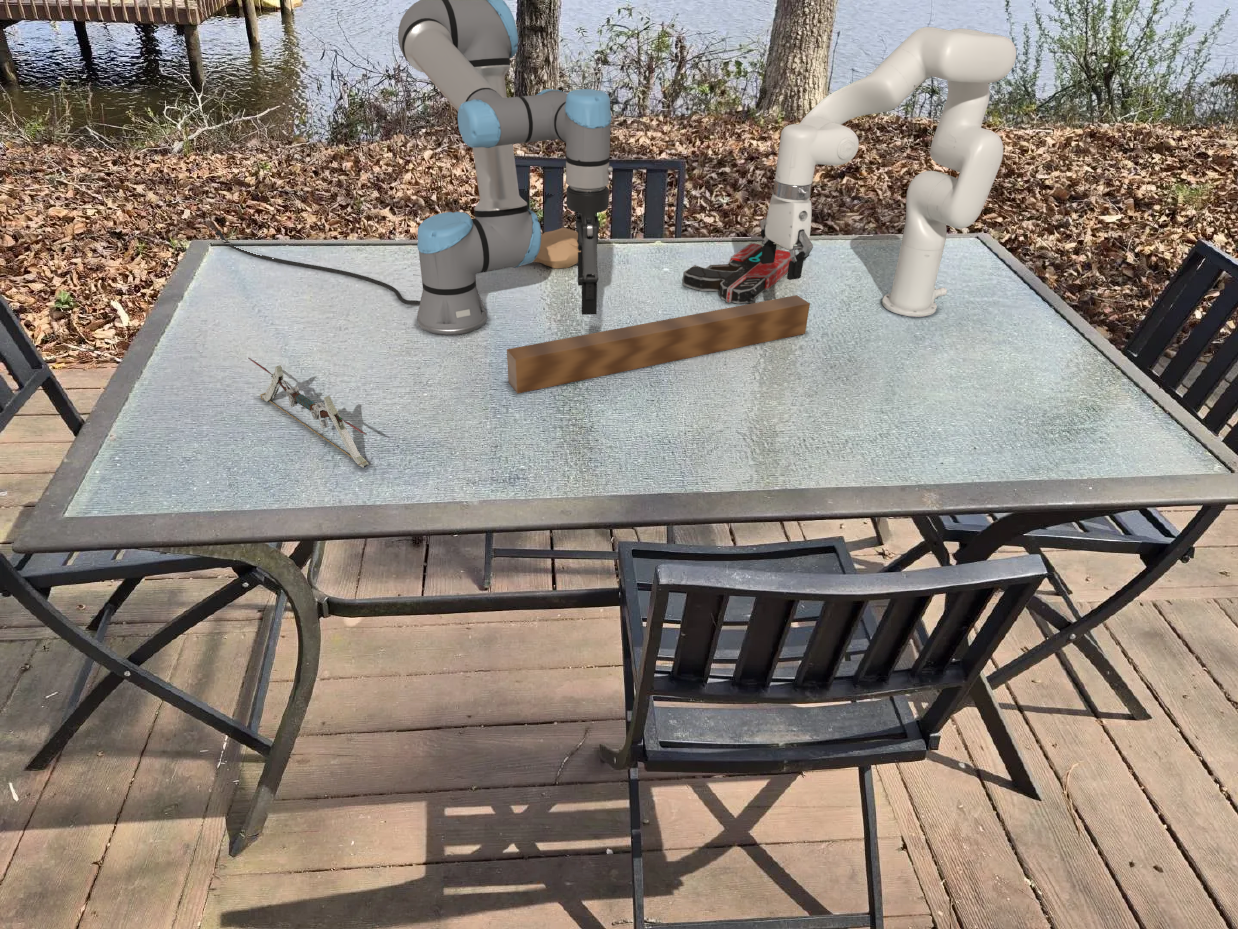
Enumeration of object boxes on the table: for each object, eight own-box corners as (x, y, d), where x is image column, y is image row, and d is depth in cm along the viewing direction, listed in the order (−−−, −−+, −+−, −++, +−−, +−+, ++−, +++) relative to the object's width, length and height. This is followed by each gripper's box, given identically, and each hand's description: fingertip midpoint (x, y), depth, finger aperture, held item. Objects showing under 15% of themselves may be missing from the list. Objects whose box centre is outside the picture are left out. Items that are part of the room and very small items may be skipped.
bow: (378, 470, 147) (371, 419, 141) (369, 475, 146) (361, 423, 140) (261, 391, 168) (250, 343, 163) (252, 394, 167) (241, 347, 162)
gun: (678, 273, 212) (751, 292, 205) (732, 235, 234) (800, 251, 226) (676, 290, 215) (749, 310, 207) (730, 251, 237) (797, 268, 229)
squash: (587, 272, 224) (582, 240, 218) (510, 279, 226) (503, 248, 219) (588, 250, 232) (584, 219, 226) (514, 257, 233) (507, 226, 227)
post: (517, 393, 170) (515, 360, 166) (508, 382, 174) (506, 349, 170) (805, 333, 196) (810, 303, 192) (792, 324, 200) (796, 294, 196)
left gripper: (615, 208, 144) (612, 326, 156) (603, 166, 165) (601, 273, 176) (569, 208, 143) (569, 327, 155) (563, 165, 164) (564, 273, 176)
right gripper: (833, 200, 173) (819, 282, 182) (782, 177, 186) (771, 255, 195) (802, 204, 170) (789, 287, 179) (753, 180, 183) (743, 259, 192)
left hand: (586, 298), depth 166 cm, fingers open, 13 cm apart
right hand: (780, 270), depth 187 cm, fingers open, 9 cm apart
